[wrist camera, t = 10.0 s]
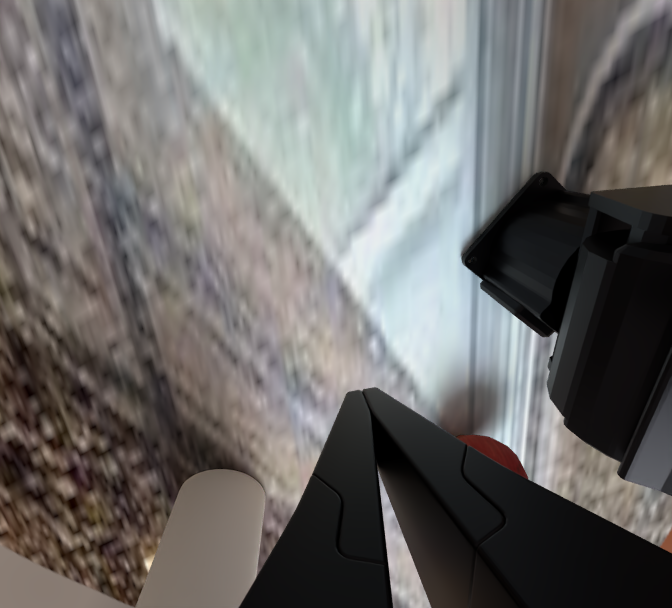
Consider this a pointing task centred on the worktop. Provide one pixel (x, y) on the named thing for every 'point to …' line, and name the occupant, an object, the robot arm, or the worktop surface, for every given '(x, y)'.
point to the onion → (495, 452)
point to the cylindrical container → (208, 544)
